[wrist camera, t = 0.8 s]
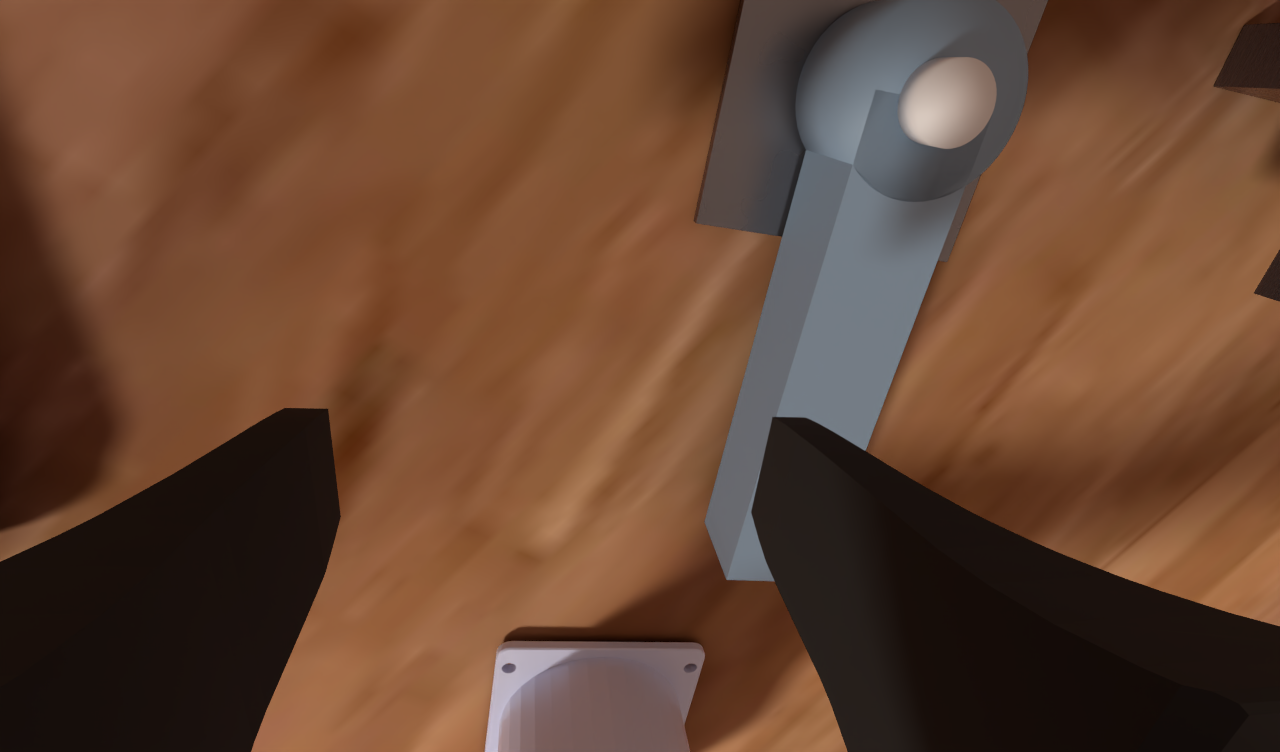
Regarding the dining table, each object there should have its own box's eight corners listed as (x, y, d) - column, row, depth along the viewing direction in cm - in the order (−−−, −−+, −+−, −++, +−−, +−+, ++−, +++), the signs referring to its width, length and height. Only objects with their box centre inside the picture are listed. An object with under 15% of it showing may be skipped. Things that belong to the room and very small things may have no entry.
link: (824, -20, 16) (900, -40, 12) (980, 19, 16) (1089, 9, 13) (685, 521, 22) (711, 598, 19) (802, 526, 23) (846, 601, 20)
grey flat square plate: (941, 259, 20) (946, 262, 20) (693, 220, 18) (695, 223, 18) (1056, -42, 17) (1065, -44, 16) (767, -124, 15) (772, -128, 15)
